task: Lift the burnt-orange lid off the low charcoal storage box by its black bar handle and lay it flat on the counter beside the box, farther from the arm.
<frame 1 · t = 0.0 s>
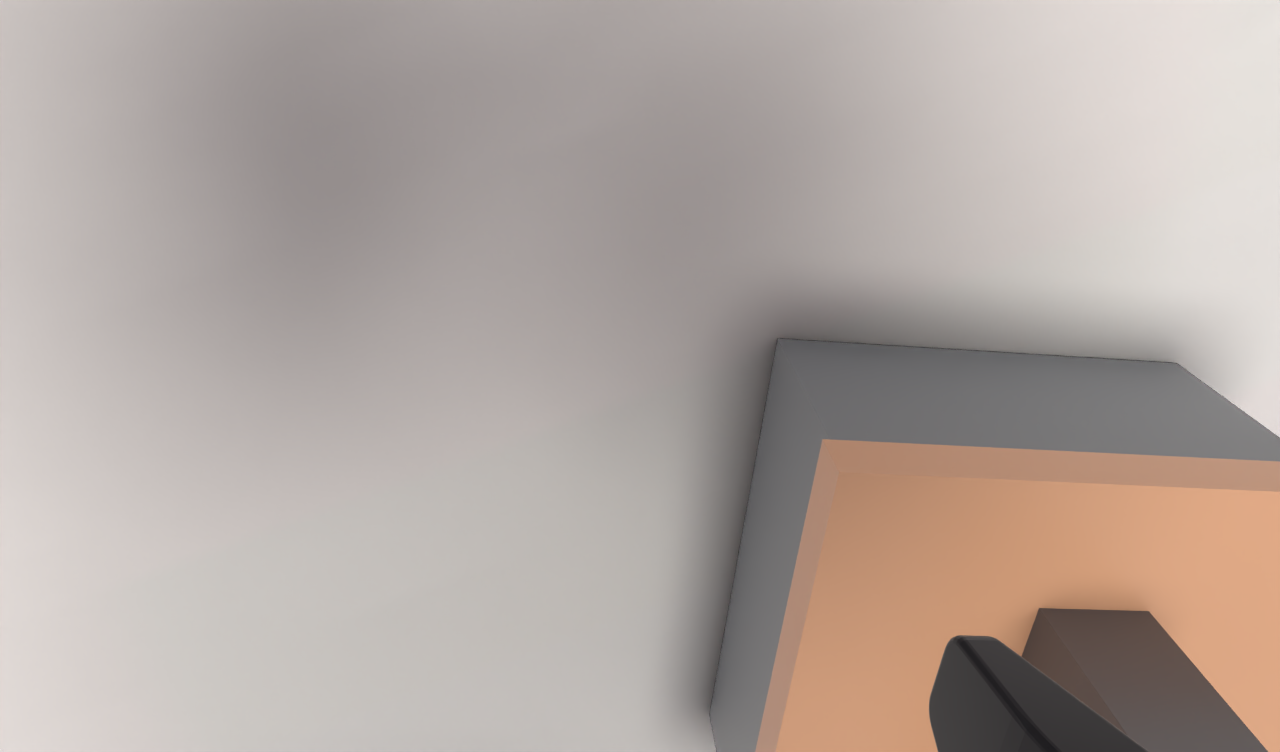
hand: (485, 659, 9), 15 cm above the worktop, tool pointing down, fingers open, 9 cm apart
storage box: (924, 553, 27), on the worktop
lid: (1014, 709, 22), point 6 cm above the worktop, touching storage box
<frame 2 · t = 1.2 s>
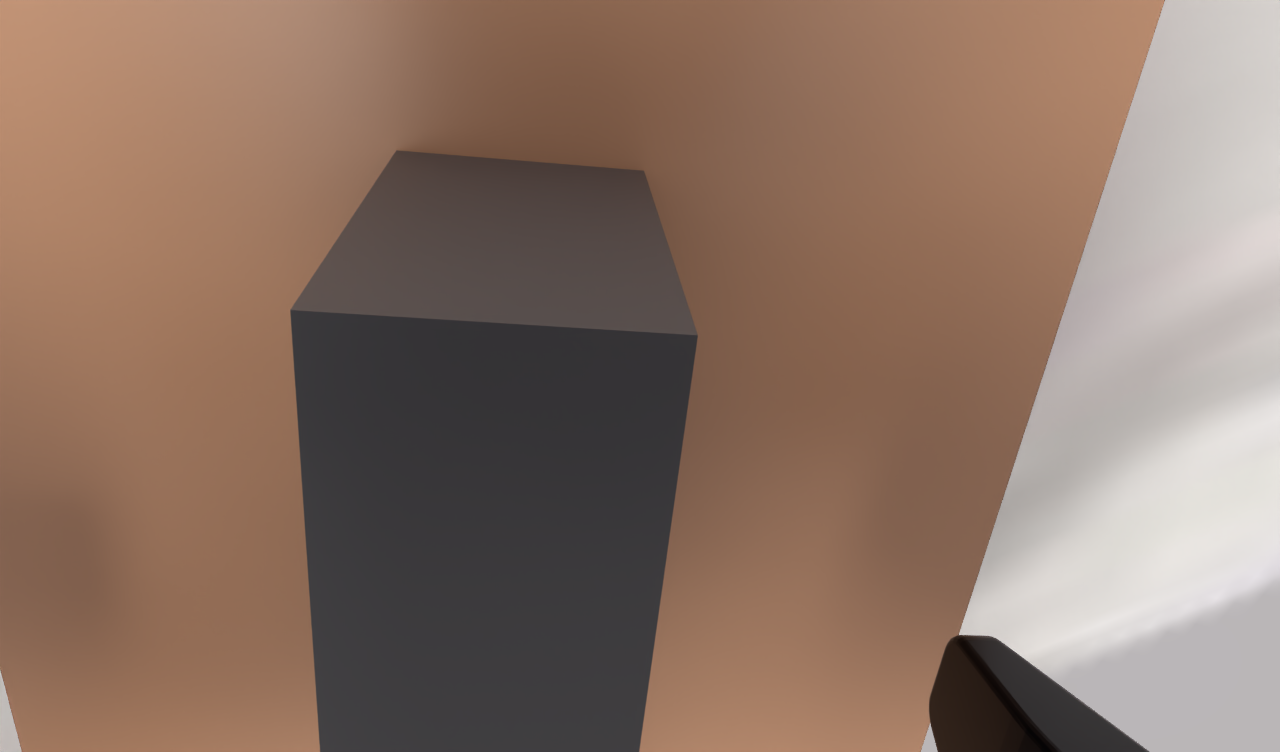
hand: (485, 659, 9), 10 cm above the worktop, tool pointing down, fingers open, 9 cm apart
lid: (510, 449, 12), point 6 cm above the worktop, touching storage box
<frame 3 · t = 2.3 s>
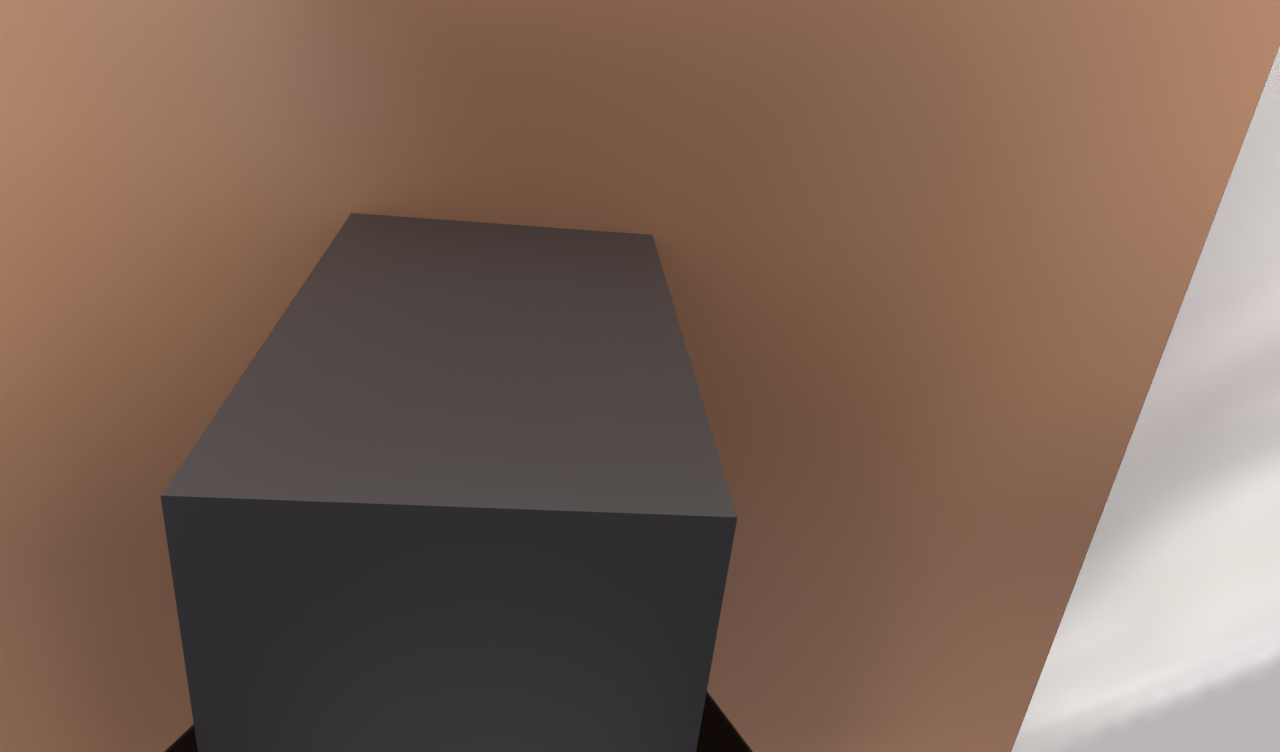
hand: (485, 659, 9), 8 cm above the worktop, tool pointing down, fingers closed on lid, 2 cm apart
lid: (496, 541, 10), point 6 cm above the worktop, touching gripper, storage box
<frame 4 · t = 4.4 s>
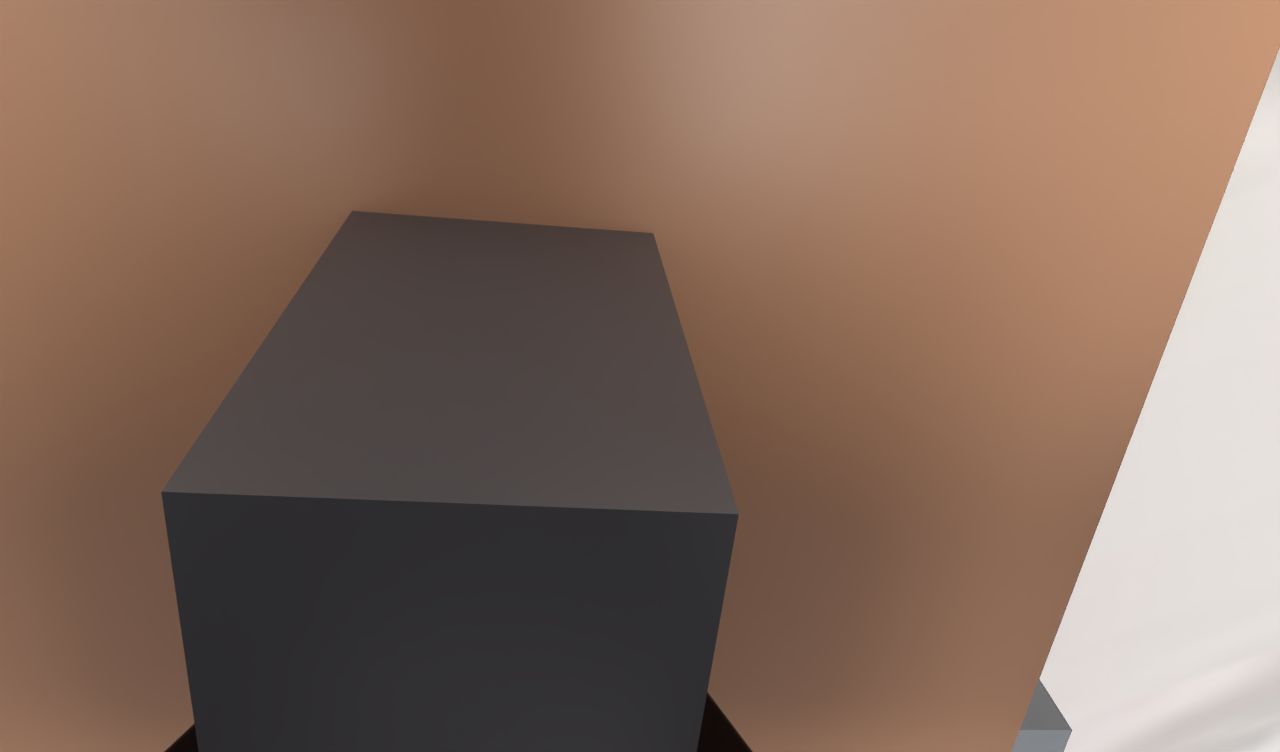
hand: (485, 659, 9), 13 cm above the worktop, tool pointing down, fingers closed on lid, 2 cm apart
storage box: (732, 733, 28), on the worktop
lid: (496, 539, 10), point 11 cm above the worktop, touching gripper
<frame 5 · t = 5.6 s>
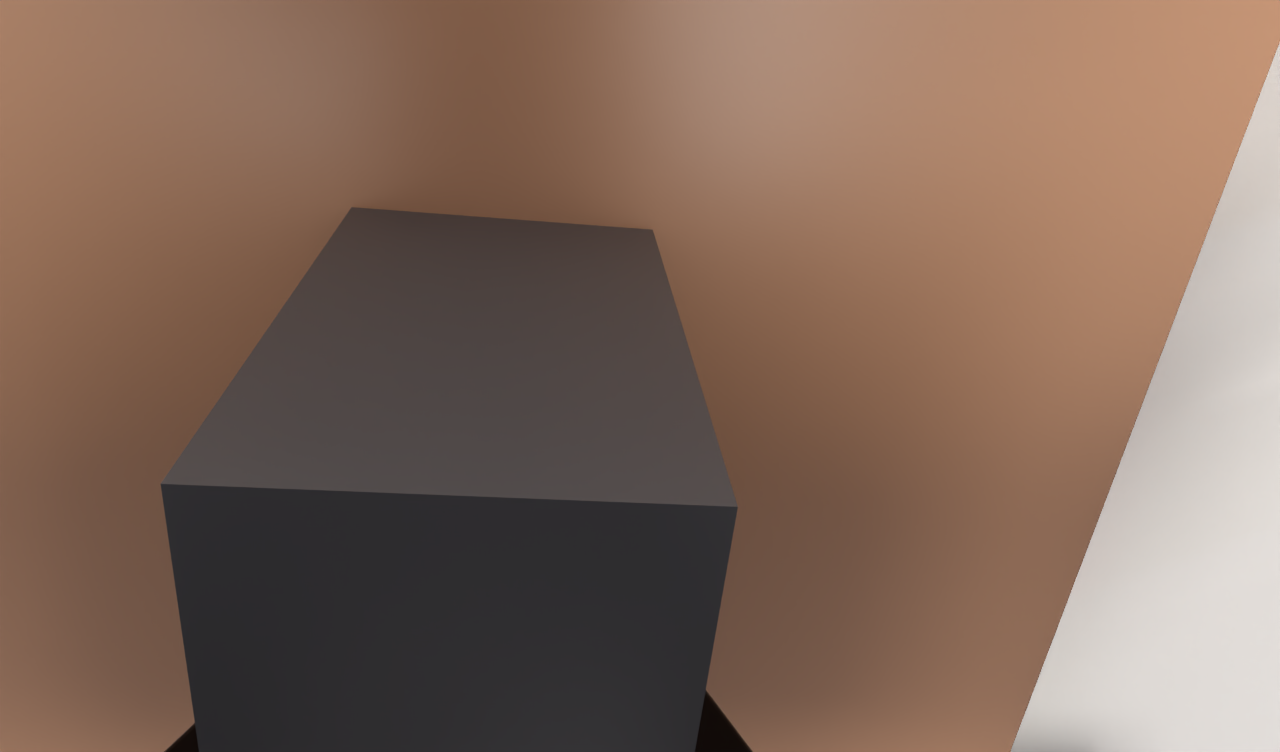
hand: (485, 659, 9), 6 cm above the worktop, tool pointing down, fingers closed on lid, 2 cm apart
lid: (496, 537, 10), point 5 cm above the worktop, touching gripper
when the fingers open (4 cm above the worktop, at t = 6.6 s): lid drops 2 cm, point 1 cm above the worktop.
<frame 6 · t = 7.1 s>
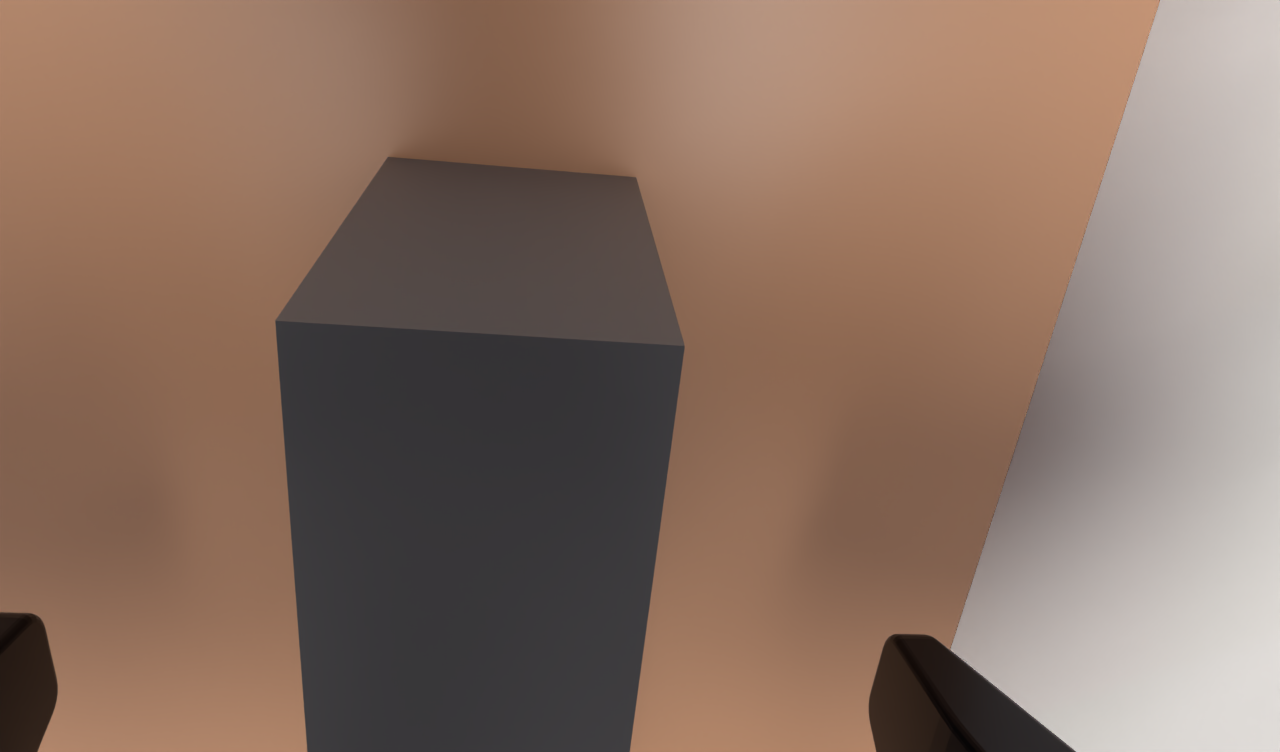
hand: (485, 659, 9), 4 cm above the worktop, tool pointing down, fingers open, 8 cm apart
lid: (504, 454, 12), point 1 cm above the worktop
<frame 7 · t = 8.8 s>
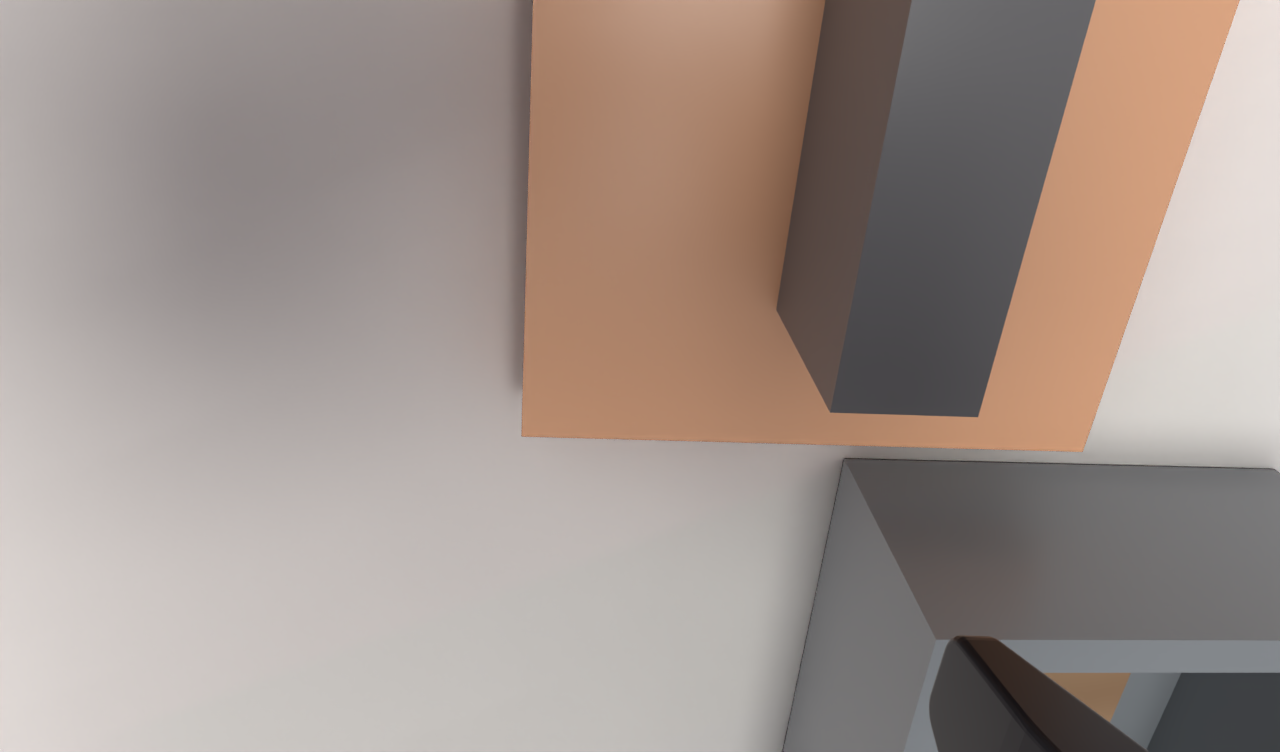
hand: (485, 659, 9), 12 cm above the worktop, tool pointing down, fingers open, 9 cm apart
storage box: (997, 665, 26), on the worktop
lid: (857, 88, 17), point 1 cm above the worktop
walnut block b: (997, 614, 24), point 1 cm above the worktop, touching storage box
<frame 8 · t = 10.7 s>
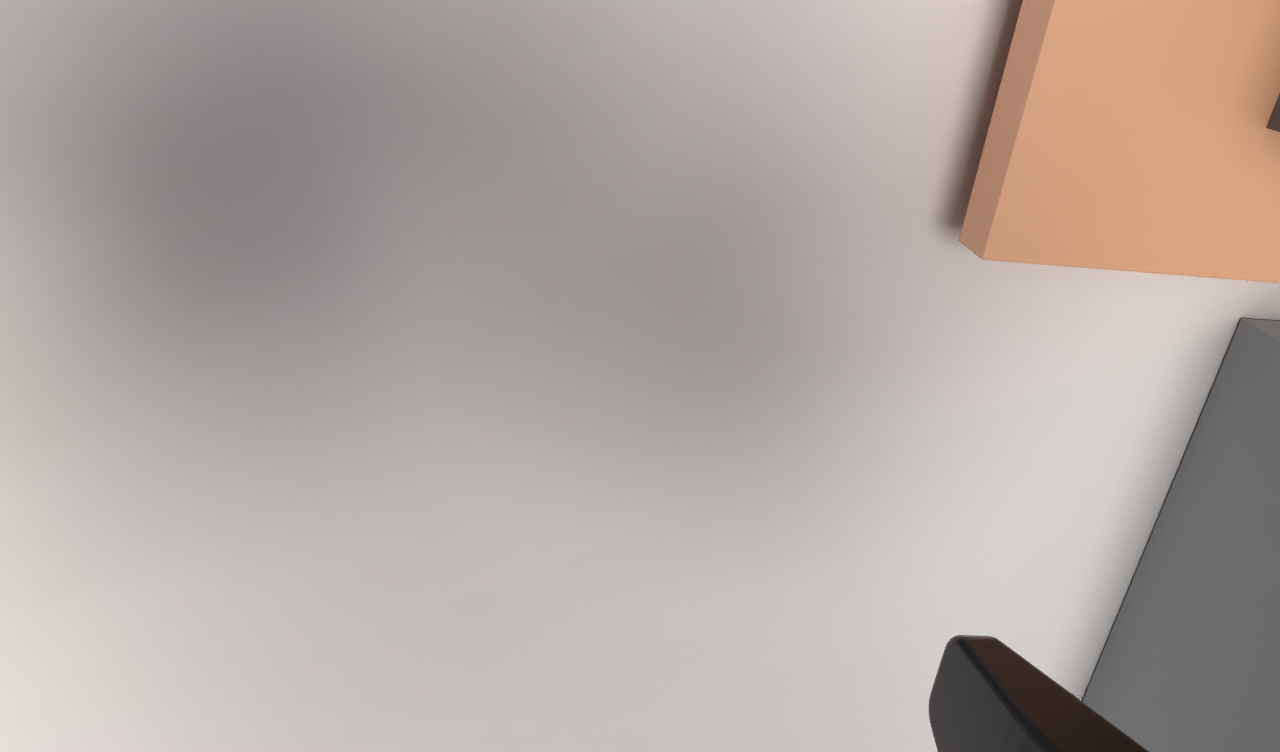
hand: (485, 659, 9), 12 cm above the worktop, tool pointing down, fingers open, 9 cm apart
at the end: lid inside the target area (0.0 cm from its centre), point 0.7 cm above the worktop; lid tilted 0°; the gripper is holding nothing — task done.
